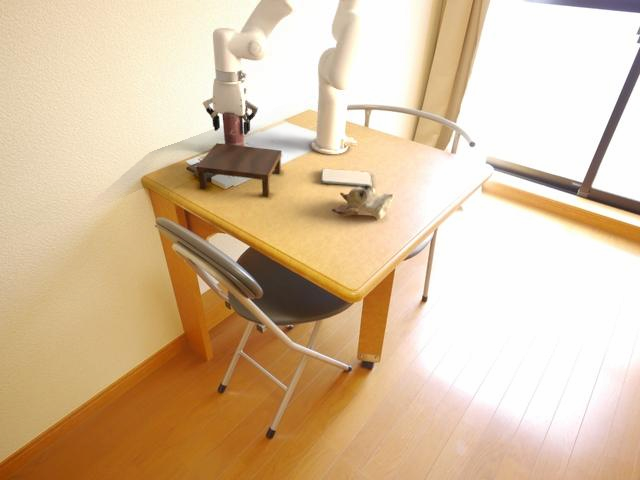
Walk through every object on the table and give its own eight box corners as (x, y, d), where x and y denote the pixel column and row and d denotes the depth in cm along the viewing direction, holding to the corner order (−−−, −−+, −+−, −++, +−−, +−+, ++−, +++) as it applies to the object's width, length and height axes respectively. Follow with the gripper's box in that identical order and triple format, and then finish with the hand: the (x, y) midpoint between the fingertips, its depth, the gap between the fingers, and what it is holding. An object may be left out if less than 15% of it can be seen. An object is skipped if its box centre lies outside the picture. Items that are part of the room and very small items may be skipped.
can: (246, 148, 137) (244, 107, 128) (241, 156, 132) (238, 114, 123) (228, 146, 137) (225, 105, 129) (223, 154, 132) (219, 112, 124)
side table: (281, 171, 125) (281, 150, 121) (268, 197, 112) (268, 175, 108) (218, 164, 127) (216, 143, 122) (199, 189, 114) (195, 166, 110)
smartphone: (372, 184, 119) (321, 180, 119) (371, 187, 120) (321, 183, 120) (370, 171, 126) (322, 167, 126) (369, 174, 126) (321, 170, 126)
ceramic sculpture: (391, 199, 97) (330, 191, 101) (387, 229, 102) (330, 220, 106) (397, 180, 106) (341, 172, 109) (393, 208, 111) (340, 200, 114)
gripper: (260, 75, 122) (261, 130, 132) (205, 69, 123) (210, 123, 134) (253, 82, 116) (254, 139, 126) (195, 75, 117) (201, 132, 128)
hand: (231, 131), depth 130 cm, fingers open, 9 cm apart
